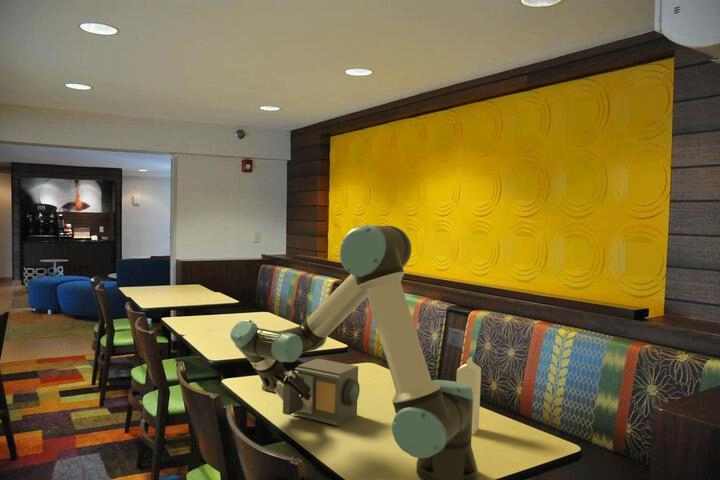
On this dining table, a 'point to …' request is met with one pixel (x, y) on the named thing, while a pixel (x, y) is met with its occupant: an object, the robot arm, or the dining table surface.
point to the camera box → (332, 391)
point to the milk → (472, 378)
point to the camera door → (297, 397)
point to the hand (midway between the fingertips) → (297, 400)
